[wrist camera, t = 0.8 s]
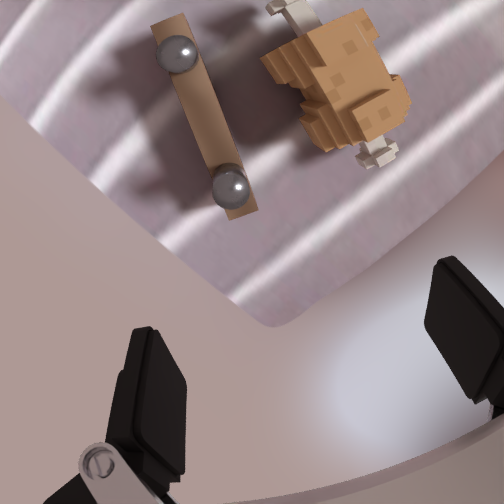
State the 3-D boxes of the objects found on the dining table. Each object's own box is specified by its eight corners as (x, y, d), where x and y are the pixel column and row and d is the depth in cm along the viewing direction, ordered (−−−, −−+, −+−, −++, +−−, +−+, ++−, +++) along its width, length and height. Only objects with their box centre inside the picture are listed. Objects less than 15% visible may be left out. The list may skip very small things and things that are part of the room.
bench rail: (187, 22, 26) (177, 2, 18) (253, 193, 36) (264, 228, 28) (159, 33, 26) (140, 17, 18) (227, 202, 36) (231, 239, 28)
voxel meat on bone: (322, 168, 35) (357, 200, 26) (234, 29, 27) (241, 8, 18) (393, 127, 33) (444, 146, 24) (315, -11, 25) (351, -38, 16)
